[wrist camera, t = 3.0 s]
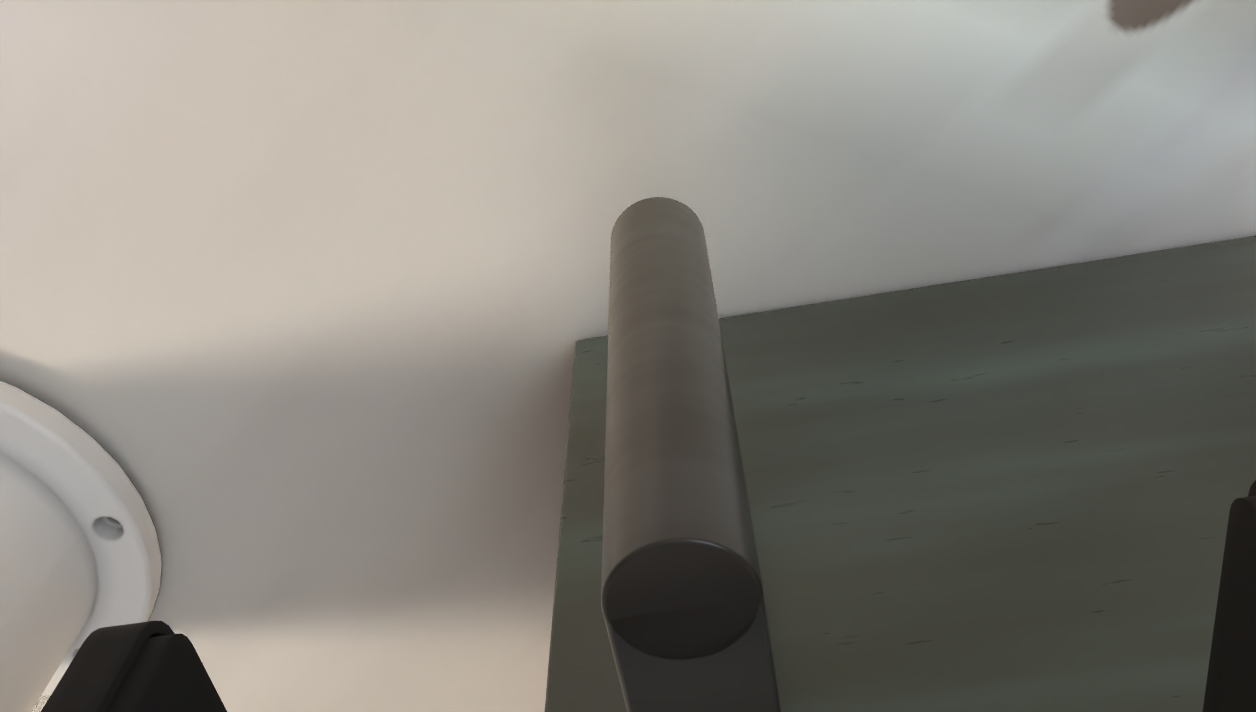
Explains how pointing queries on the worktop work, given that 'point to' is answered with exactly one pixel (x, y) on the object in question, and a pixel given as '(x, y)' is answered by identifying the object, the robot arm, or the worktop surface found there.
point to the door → (903, 488)
